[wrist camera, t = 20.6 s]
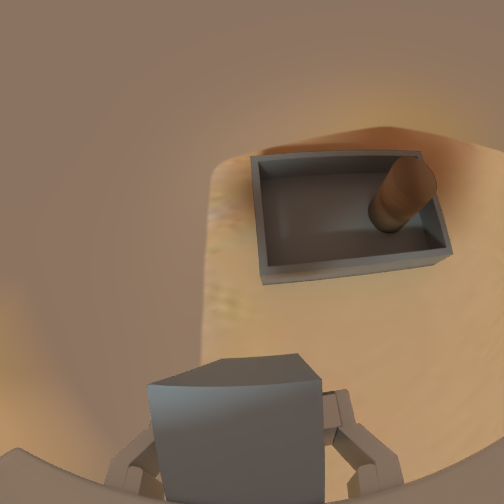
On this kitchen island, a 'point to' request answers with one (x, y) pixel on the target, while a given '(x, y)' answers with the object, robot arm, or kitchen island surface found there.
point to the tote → (335, 217)
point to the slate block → (241, 432)
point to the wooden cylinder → (402, 194)
